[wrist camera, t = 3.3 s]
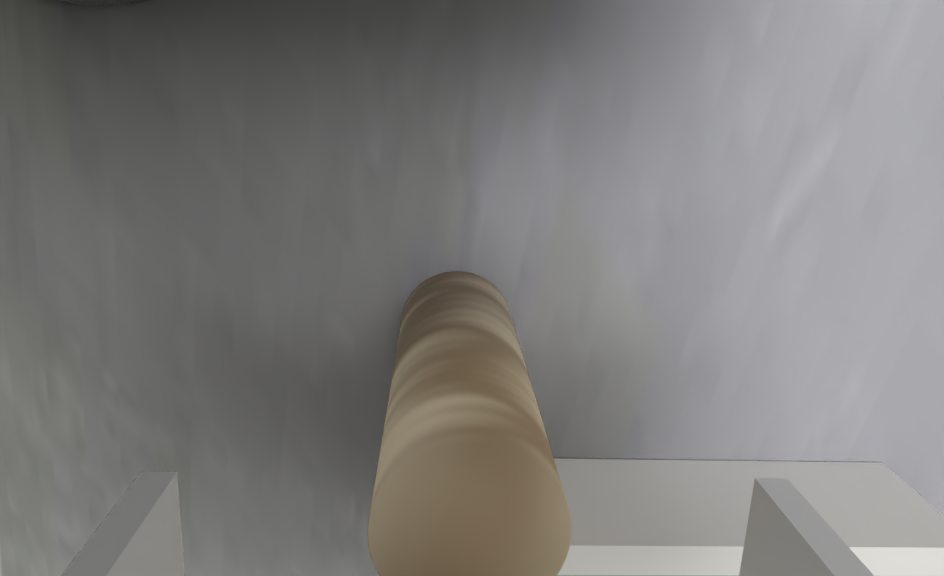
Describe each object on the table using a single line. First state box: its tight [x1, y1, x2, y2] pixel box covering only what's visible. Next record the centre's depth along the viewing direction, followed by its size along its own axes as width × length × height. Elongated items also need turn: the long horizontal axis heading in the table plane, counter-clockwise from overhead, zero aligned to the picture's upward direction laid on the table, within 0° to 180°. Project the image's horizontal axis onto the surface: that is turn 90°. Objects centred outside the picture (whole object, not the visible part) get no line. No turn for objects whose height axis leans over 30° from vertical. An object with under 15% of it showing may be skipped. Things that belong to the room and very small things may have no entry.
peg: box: [368, 271, 572, 576], centre depth 22 cm, size 4×4×14 cm
